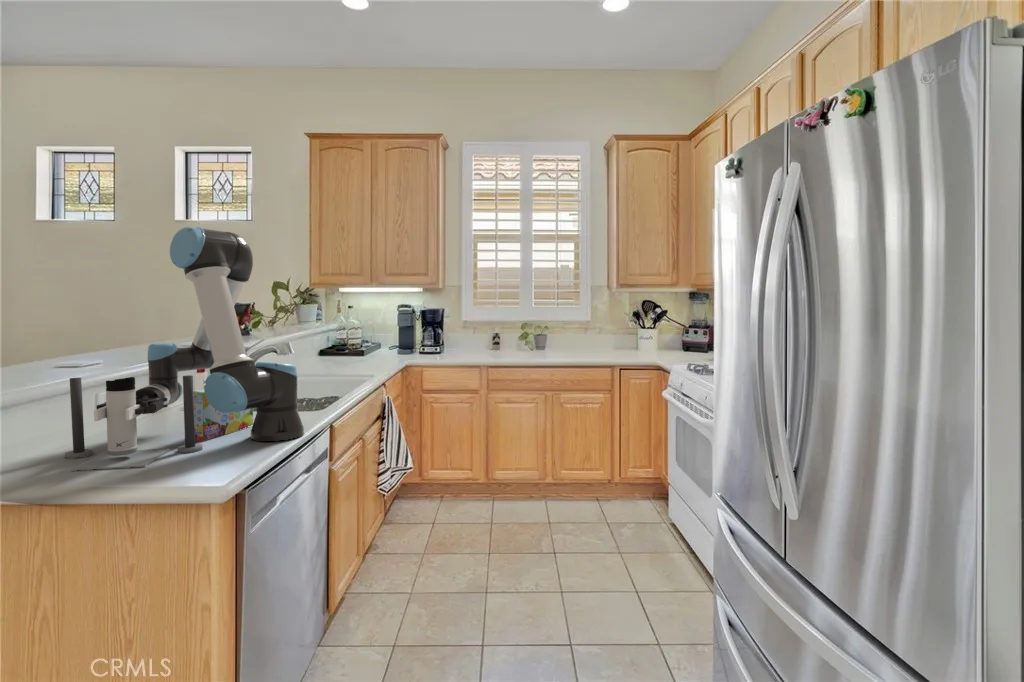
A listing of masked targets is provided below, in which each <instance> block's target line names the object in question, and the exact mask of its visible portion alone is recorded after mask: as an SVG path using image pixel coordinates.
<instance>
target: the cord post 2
mask: <svg viewBox="0 0 1024 682" xmlns="http://www.w3.org/2000/svg"><path fill="white" fill-rule="evenodd" d="M193 377H194V376H193V375H192V374H191V375H190V374H189V375H183V376H182V395H183V421H184V422H183V424H184V444H183V445H180V446H178V447H177V453H179V452H182V453H181V454H191V453H190V452H192V453H196V452H200V451H202V450H203V449H204V448H203V444H201V443H196V440H195V427H194V397H193V391H194V378H193Z"/></svg>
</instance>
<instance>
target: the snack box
mask: <svg viewBox="0 0 1024 682" xmlns="http://www.w3.org/2000/svg"><path fill="white" fill-rule="evenodd" d="M193 397H194V427H195V442H196V441H199V442H206V441H209V440H211V439H215V438H219V437H222V436H225V434H226V435H229V434H232V433H235V432H234V431H236V432H238V431H237V430H239V431H241V430H240V429H242V430H244V429H243V428H245V427H248V426H251V425H253V423H254V408H252V409H247V410H243V411H239V412H231V413H223V412H220V411H218V410H217V409H215V408H213V407H212V406H211V405H210V403H209V402H208V400H207V398H206V395H205V391H204V388H201V389H200V388H199V389H194V390H193ZM231 432H232V433H231ZM228 433H229V434H228Z"/></svg>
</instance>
